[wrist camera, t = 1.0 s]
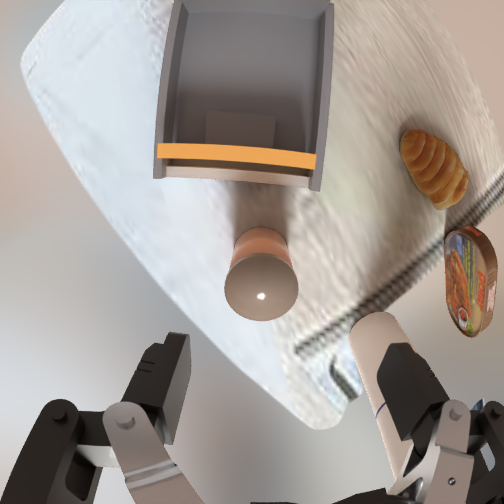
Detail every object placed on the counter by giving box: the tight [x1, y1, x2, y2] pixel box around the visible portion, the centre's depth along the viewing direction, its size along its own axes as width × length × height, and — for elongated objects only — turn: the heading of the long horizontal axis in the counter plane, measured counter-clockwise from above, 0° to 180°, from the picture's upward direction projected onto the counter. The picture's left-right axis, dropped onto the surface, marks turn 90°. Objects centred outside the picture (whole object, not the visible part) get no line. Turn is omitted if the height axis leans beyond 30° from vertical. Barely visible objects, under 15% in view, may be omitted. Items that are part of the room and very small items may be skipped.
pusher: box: [157, 112, 316, 170], centre depth 22 cm, size 4×12×5 cm, turn 85°
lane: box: [153, 0, 334, 192], centre depth 20 cm, size 19×15×5 cm
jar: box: [224, 227, 298, 321], centre depth 25 cm, size 6×6×8 cm
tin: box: [444, 226, 498, 338], centre depth 25 cm, size 15×3×8 cm, turn 22°
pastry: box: [400, 130, 469, 210], centre depth 23 cm, size 9×7×4 cm
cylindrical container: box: [348, 312, 418, 482], centre depth 21 cm, size 7×7×25 cm
